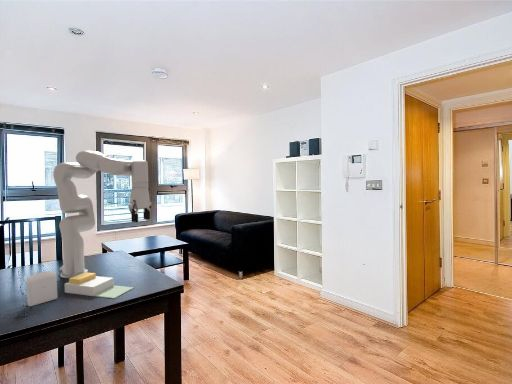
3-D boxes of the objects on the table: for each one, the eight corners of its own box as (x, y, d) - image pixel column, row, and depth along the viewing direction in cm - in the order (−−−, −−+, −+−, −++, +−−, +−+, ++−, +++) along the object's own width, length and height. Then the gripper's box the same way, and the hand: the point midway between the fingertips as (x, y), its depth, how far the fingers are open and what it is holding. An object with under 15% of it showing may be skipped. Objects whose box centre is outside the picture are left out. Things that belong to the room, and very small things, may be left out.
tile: (69, 282, 130) (69, 278, 130) (85, 276, 139) (85, 272, 139) (79, 284, 128) (79, 279, 128) (95, 277, 137) (95, 273, 137)
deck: (64, 292, 129) (64, 283, 129) (87, 283, 141) (86, 275, 140) (93, 296, 125) (93, 287, 124) (114, 286, 136) (113, 277, 136)
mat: (94, 296, 125) (93, 295, 125) (114, 286, 136) (114, 285, 136) (114, 298, 122) (114, 297, 122) (133, 288, 133) (133, 287, 133)
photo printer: (28, 307, 114) (27, 277, 114) (26, 304, 117) (24, 274, 116) (59, 299, 122) (57, 270, 121) (55, 296, 125) (54, 268, 124)
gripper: (143, 185, 149) (144, 218, 149) (121, 186, 132) (122, 223, 133) (156, 185, 147) (157, 218, 148) (136, 186, 130) (137, 223, 131)
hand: (141, 220), depth 140 cm, fingers open, 9 cm apart
